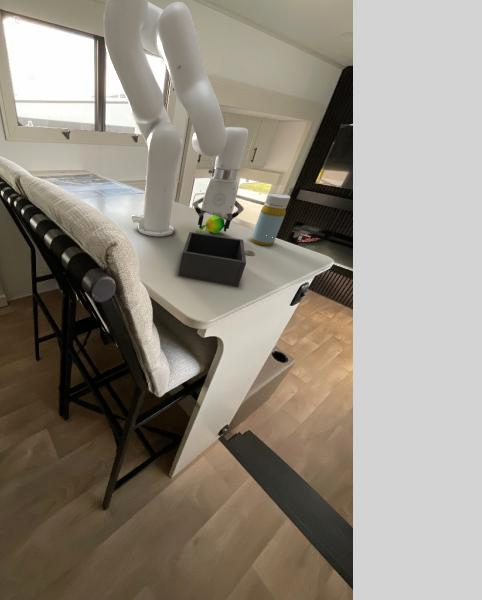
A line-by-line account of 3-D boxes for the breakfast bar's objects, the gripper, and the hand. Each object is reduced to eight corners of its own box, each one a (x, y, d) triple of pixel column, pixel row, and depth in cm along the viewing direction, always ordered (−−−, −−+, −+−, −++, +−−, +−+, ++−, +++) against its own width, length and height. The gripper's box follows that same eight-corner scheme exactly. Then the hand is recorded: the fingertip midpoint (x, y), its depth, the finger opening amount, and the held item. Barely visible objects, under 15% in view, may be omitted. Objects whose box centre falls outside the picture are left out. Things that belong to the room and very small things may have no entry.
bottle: (275, 247, 81) (295, 199, 73) (252, 244, 82) (269, 197, 74) (270, 239, 87) (287, 193, 78) (249, 237, 88) (264, 191, 79)
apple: (225, 210, 88) (205, 212, 84) (231, 226, 87) (211, 229, 83) (212, 221, 94) (193, 223, 91) (218, 236, 93) (199, 239, 90)
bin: (178, 275, 64) (182, 252, 60) (185, 252, 76) (189, 231, 72) (237, 287, 61) (246, 262, 57) (236, 261, 72) (243, 239, 68)
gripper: (195, 174, 78) (186, 228, 88) (255, 179, 74) (238, 236, 84) (198, 170, 84) (189, 222, 94) (253, 175, 80) (237, 228, 90)
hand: (212, 228), depth 89 cm, fingers closed on apple, 8 cm apart
